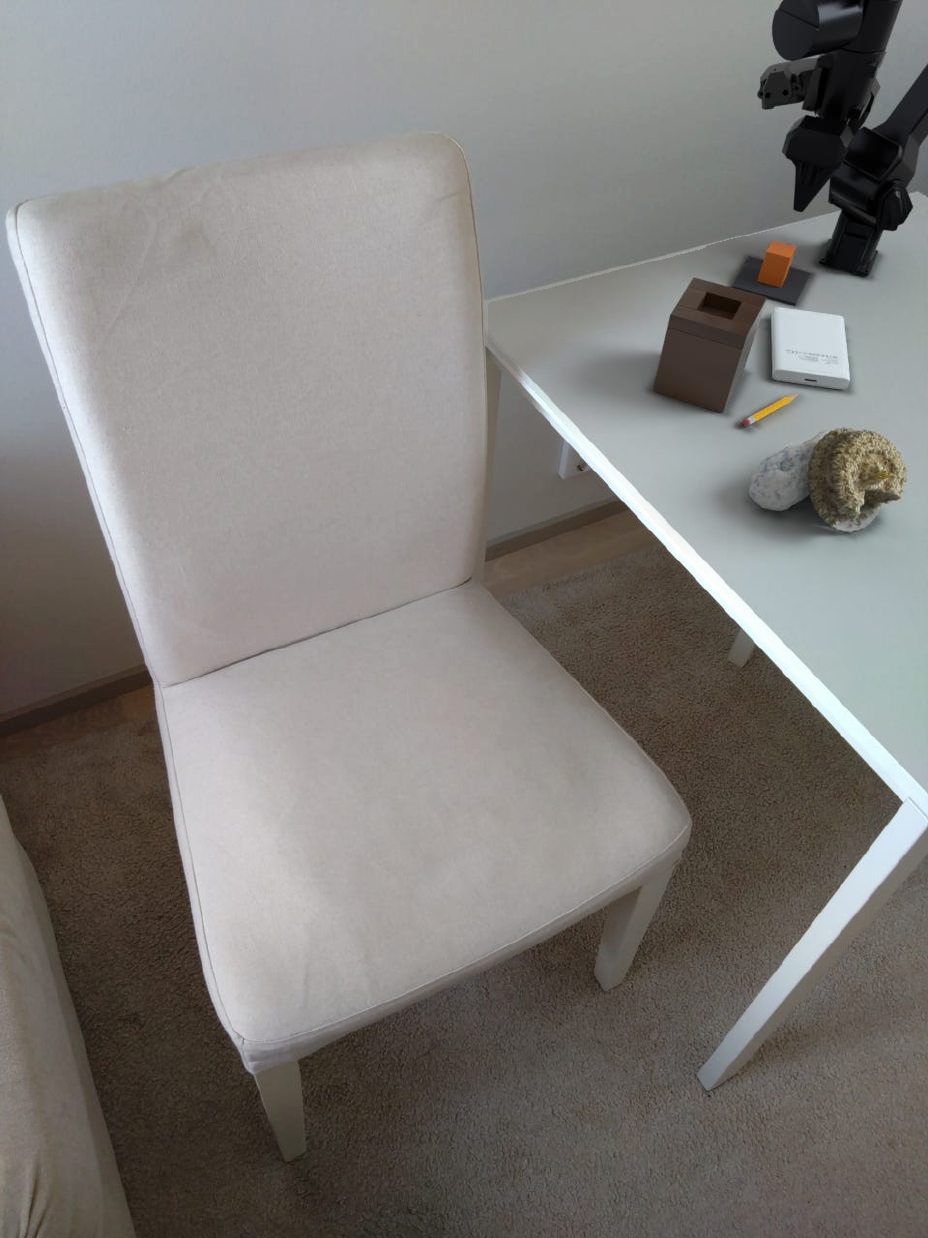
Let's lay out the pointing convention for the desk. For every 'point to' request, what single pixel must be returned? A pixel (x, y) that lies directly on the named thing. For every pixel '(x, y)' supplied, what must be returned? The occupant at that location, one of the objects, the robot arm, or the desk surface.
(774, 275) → the block
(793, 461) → the decorative stone
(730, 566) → the desk surface
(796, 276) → the coaster
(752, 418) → the pencil
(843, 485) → the coral piece
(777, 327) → the hard drive
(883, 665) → the desk surface
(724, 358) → the holder
